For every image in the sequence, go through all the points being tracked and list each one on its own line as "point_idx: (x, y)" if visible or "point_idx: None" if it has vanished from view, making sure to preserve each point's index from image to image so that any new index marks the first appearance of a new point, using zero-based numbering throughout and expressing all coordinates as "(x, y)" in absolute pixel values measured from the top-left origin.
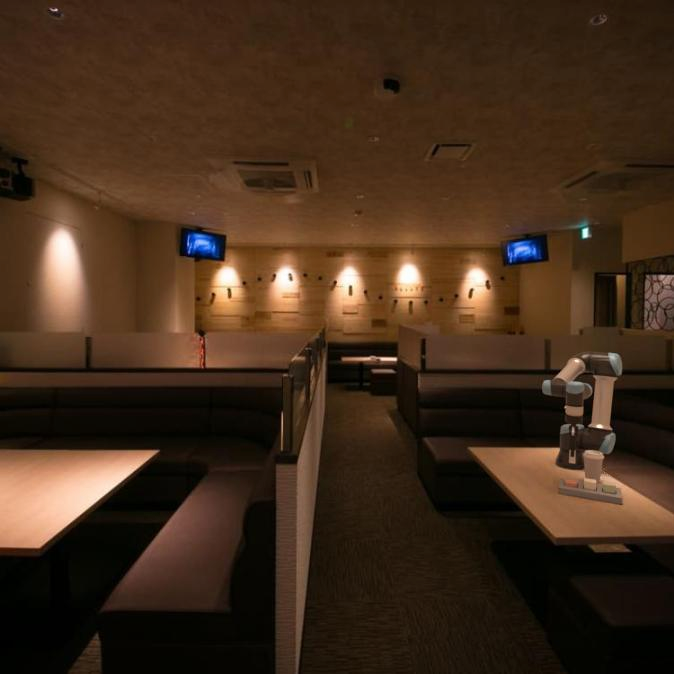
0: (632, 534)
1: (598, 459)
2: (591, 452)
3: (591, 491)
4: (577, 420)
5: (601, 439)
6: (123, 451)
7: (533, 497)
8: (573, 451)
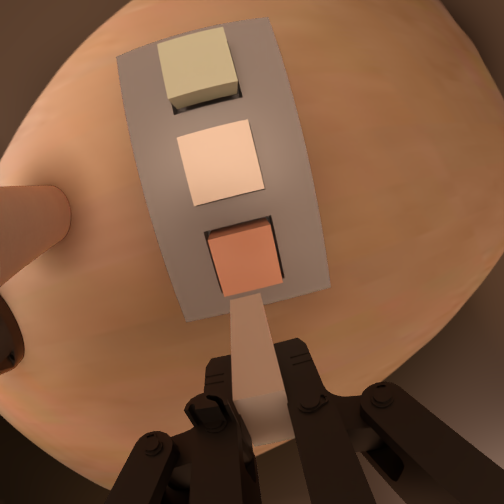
0: (465, 36)
1: None
2: None
3: (277, 141)
4: None
5: None
6: None
7: (406, 321)
8: (324, 390)
